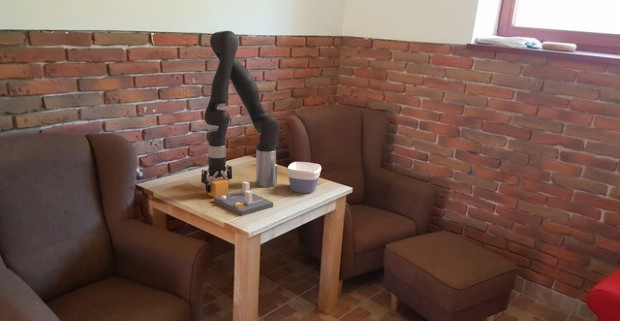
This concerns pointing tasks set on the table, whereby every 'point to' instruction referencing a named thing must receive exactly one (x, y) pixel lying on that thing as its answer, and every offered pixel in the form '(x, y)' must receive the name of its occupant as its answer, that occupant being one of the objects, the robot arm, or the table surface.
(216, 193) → the orange block
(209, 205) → the table surface
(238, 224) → the table surface
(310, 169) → the bowl
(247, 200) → the block
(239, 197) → the breaker panel
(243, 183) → the untagged breaker
